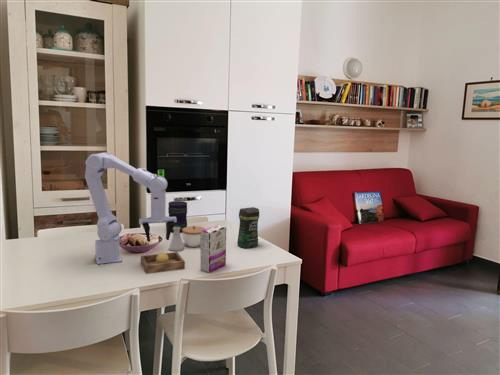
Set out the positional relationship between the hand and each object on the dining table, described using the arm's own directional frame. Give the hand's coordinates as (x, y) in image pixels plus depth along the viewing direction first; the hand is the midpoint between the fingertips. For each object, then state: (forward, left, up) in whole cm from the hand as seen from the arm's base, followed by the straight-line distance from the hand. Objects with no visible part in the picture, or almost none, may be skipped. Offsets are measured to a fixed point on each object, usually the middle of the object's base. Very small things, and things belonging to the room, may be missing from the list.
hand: (158, 240), depth 160 cm
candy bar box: (+20, -12, -10) cm, 25 cm away
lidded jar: (+21, +18, -10) cm, 29 cm away
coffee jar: (+45, +9, -10) cm, 47 cm away
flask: (+12, +15, -10) cm, 22 cm away
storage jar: (+20, +44, -10) cm, 49 cm away
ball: (+1, -3, -10) cm, 10 cm away
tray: (+1, -3, -10) cm, 10 cm away
